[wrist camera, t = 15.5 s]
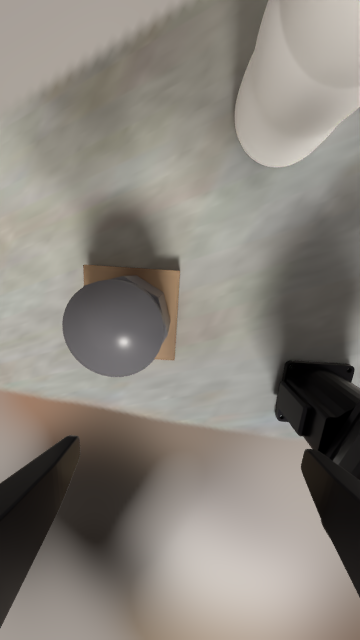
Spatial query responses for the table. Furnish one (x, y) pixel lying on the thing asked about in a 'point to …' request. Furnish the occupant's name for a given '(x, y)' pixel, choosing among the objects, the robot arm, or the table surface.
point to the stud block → (157, 278)
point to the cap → (116, 325)
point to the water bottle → (299, 79)
